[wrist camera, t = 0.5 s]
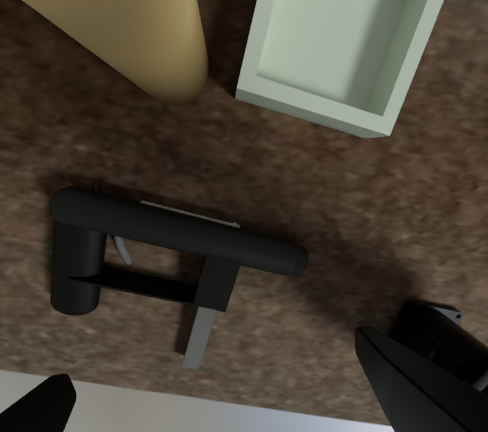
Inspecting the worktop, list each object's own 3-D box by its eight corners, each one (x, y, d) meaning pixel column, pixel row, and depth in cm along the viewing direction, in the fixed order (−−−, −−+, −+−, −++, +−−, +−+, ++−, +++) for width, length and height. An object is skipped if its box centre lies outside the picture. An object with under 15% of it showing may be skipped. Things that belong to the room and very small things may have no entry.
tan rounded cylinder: (216, 33, 16) (166, -531, 3) (200, 113, 18) (114, -14, 4) (138, 7, 16) (-425, -912, 2) (127, 92, 17) (-267, -147, 3)
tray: (424, -20, 16) (466, -58, 13) (365, 138, 19) (389, 135, 16) (277, -82, 15) (289, -139, 12) (235, 98, 17) (236, 88, 15)
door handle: (256, 387, 23) (319, 242, 18) (35, 352, 20) (39, 170, 15) (253, 356, 26) (305, 226, 21) (62, 322, 23) (72, 164, 18)
